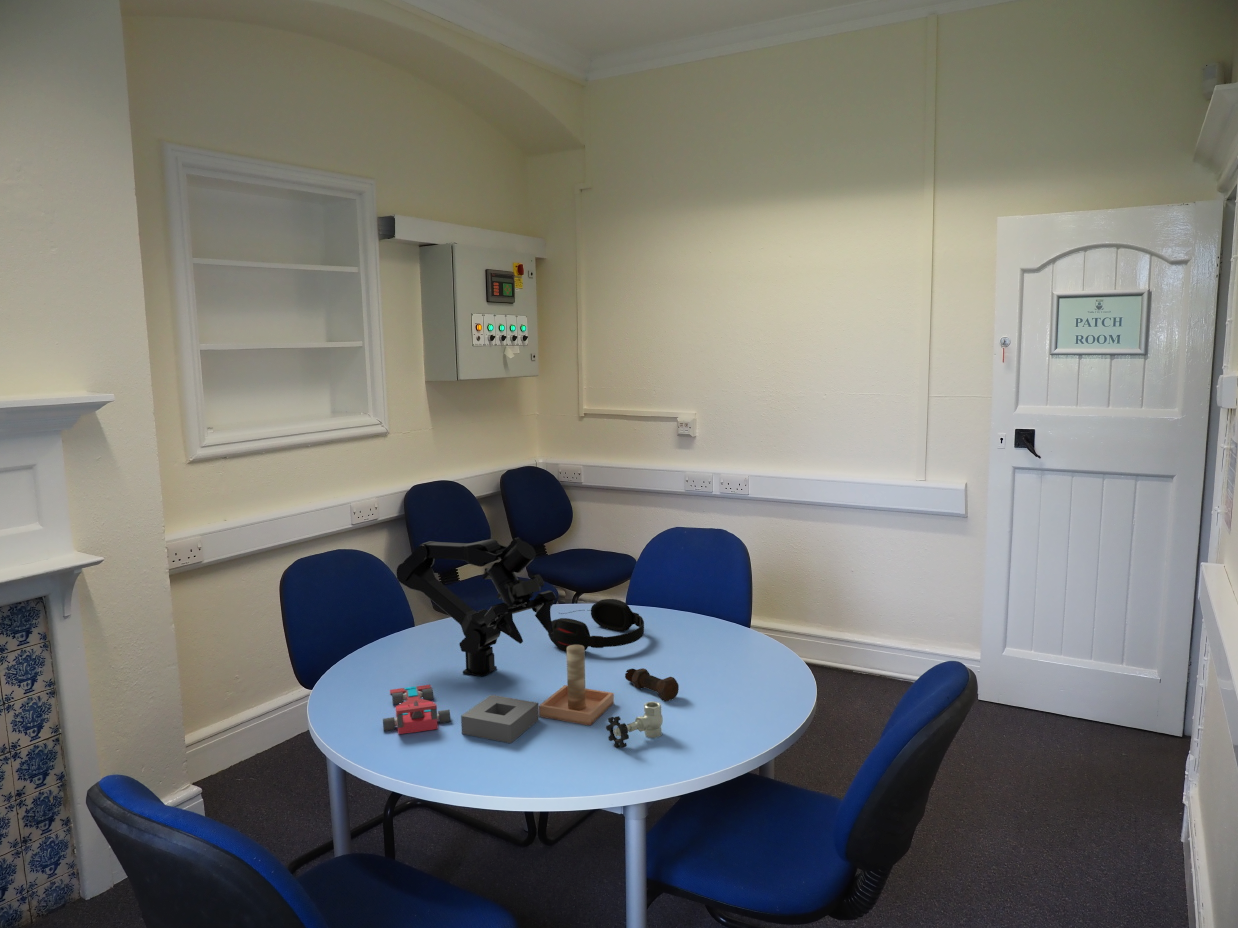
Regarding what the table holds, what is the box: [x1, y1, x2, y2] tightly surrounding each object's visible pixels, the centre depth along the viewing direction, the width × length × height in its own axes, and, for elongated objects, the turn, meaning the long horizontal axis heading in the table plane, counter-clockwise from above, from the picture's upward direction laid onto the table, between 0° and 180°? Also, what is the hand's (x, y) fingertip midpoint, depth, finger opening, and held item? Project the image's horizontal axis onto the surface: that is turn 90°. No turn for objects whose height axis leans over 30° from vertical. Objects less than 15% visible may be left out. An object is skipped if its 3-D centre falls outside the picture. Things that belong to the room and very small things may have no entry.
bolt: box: [624, 667, 680, 702], centre depth 200 cm, size 6×5×15 cm
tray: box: [538, 684, 615, 726], centre depth 190 cm, size 13×13×2 cm
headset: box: [547, 598, 645, 653], centre depth 237 cm, size 28×26×9 cm
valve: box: [605, 701, 664, 749], centre depth 175 cm, size 7×7×12 cm
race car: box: [382, 684, 451, 735], centre depth 191 cm, size 14×6×25 cm
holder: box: [460, 694, 539, 744], centre depth 181 cm, size 12×12×4 cm
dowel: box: [566, 645, 586, 711], centre depth 189 cm, size 4×4×14 cm
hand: (536, 637), depth 200 cm, fingers open, 9 cm apart
